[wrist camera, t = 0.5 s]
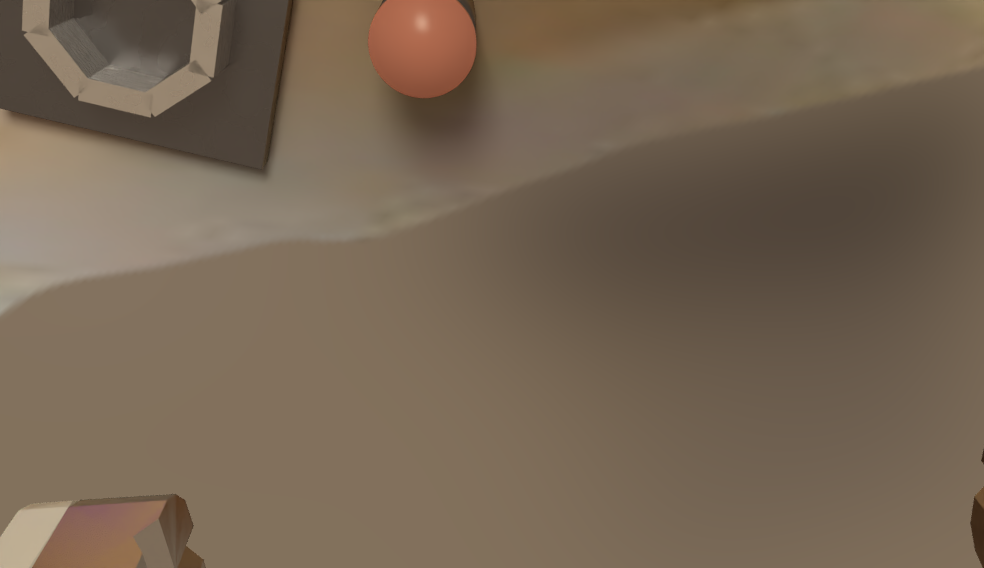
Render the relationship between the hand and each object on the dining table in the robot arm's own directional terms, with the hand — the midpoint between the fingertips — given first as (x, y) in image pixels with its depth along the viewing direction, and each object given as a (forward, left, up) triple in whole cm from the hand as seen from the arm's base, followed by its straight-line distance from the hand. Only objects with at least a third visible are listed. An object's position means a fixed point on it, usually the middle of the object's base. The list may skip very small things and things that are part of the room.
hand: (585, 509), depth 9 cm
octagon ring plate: (+5, -17, -41) cm, 45 cm away
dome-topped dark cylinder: (+2, -3, -41) cm, 41 cm away
